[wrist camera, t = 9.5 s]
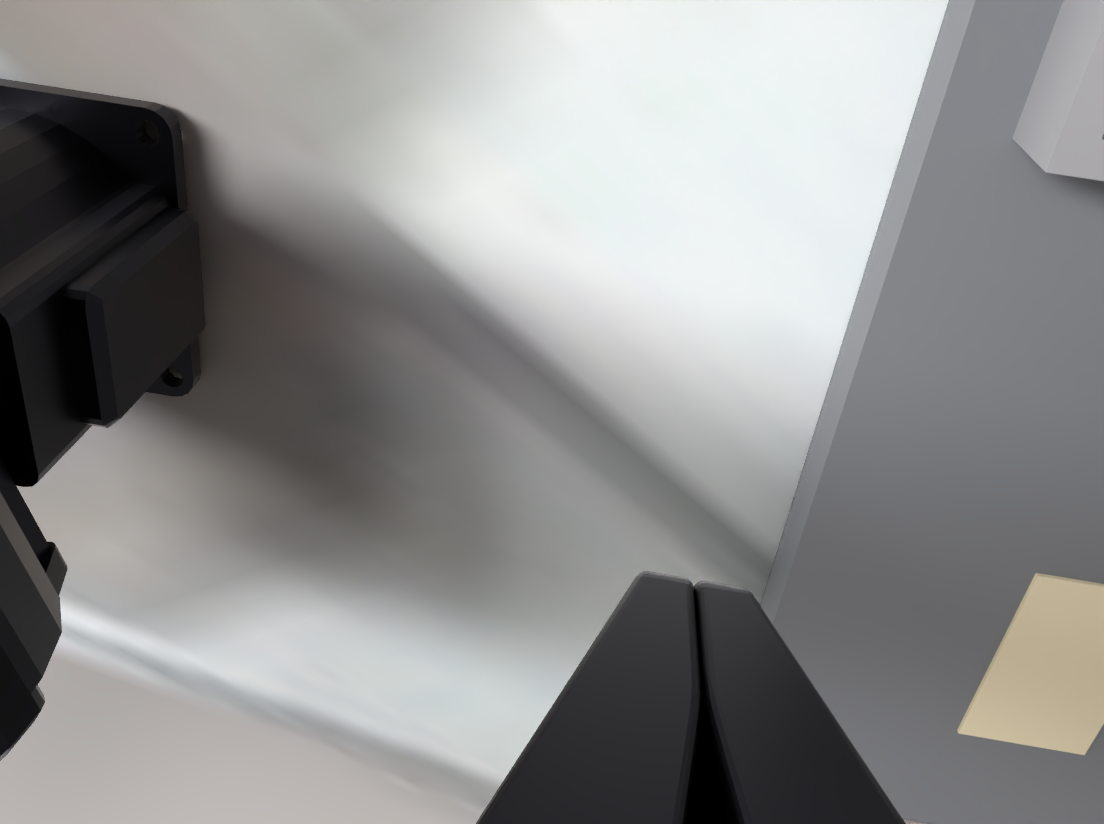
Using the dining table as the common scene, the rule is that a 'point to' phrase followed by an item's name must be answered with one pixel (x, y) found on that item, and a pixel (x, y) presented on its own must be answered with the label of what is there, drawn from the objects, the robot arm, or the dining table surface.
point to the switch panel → (971, 443)
